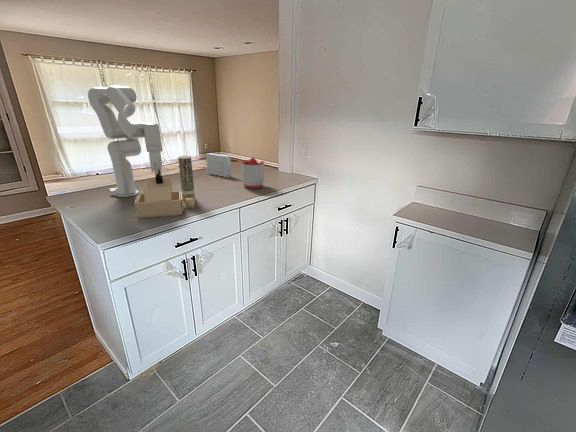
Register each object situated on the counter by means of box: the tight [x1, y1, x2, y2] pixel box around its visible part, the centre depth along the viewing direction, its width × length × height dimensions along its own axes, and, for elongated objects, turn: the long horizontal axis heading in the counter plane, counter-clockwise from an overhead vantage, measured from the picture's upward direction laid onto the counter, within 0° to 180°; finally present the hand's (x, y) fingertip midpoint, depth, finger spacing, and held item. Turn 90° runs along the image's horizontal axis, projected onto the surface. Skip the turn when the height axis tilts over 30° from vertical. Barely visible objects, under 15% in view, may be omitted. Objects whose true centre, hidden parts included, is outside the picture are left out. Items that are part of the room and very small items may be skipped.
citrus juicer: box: [240, 157, 265, 190], centre depth 198 cm, size 16×17×20 cm
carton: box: [134, 190, 184, 220], centre depth 152 cm, size 22×16×8 cm
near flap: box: [143, 187, 172, 202], centre depth 143 cm, size 12×1×6 cm, turn 109°
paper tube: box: [177, 155, 196, 201], centre depth 168 cm, size 7×7×25 cm
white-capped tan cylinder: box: [184, 197, 196, 210], centre depth 159 cm, size 5×5×5 cm
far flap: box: [146, 178, 173, 192], centre depth 157 cm, size 12×1×6 cm, turn 109°
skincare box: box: [205, 152, 232, 178], centre depth 226 cm, size 21×6×16 cm, turn 58°
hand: (159, 183), depth 157 cm, fingers closed
